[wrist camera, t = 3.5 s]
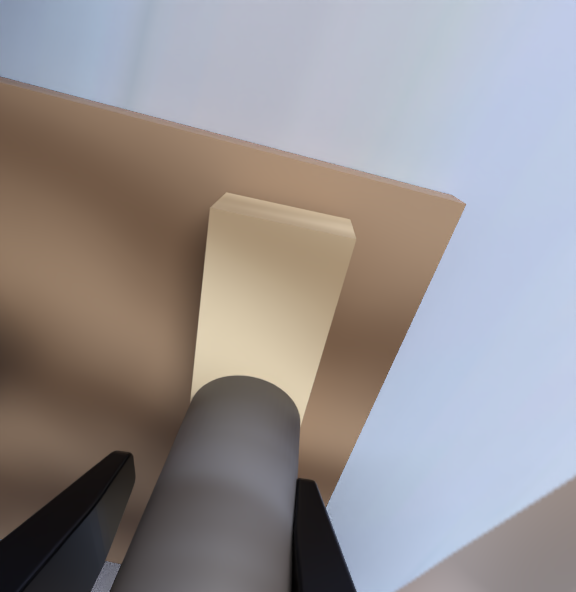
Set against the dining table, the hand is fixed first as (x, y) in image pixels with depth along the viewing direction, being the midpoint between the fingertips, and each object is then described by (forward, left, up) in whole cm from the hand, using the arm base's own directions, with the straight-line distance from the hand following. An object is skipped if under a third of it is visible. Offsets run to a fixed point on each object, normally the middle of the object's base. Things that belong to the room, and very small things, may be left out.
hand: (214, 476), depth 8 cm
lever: (-3, -1, -3) cm, 4 cm away
